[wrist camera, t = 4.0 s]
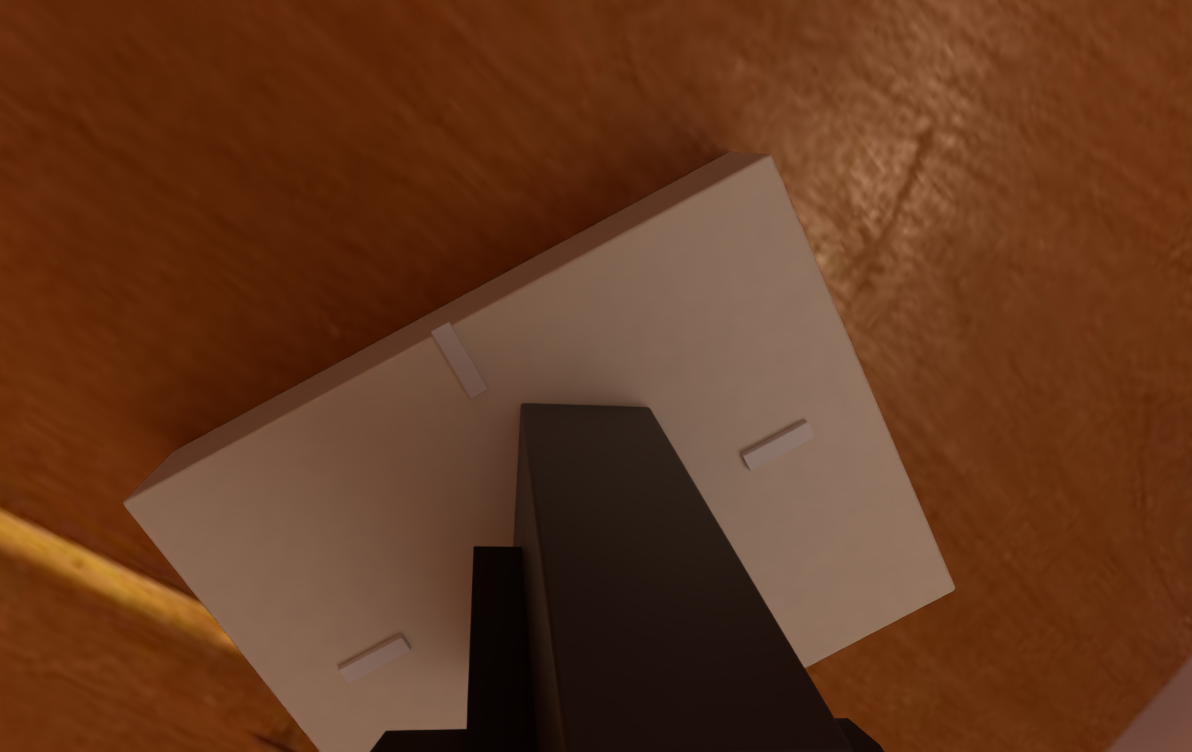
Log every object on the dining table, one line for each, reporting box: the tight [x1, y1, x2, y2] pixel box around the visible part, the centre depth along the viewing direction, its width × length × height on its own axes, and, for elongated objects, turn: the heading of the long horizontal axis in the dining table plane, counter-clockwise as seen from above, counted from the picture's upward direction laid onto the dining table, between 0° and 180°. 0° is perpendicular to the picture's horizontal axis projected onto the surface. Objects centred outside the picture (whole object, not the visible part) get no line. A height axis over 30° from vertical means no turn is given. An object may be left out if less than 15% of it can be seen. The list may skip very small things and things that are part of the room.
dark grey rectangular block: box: [513, 403, 853, 752], centre depth 12 cm, size 6×2×9 cm, turn 176°
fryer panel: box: [123, 152, 955, 752], centre depth 17 cm, size 13×10×3 cm
